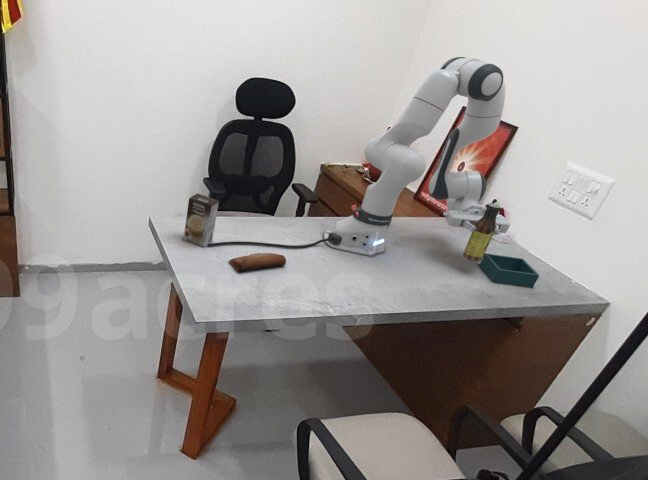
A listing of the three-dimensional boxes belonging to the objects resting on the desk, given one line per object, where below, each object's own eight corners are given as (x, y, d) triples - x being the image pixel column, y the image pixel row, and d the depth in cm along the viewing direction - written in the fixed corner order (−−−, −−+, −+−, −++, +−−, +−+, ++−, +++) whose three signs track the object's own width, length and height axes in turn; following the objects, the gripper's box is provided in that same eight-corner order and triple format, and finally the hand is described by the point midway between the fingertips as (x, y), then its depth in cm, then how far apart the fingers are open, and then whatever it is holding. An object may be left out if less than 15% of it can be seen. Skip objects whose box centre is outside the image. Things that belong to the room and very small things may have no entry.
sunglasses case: (271, 254, 181) (280, 244, 176) (279, 271, 179) (288, 261, 173) (227, 260, 174) (235, 249, 169) (234, 278, 172) (242, 268, 166)
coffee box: (182, 239, 186) (187, 197, 177) (191, 234, 191) (196, 192, 182) (204, 247, 182) (211, 205, 173) (213, 241, 187) (219, 200, 178)
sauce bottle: (483, 263, 181) (508, 210, 170) (464, 260, 181) (488, 208, 171) (477, 255, 186) (501, 203, 175) (459, 252, 187) (482, 200, 176)
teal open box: (492, 282, 181) (499, 269, 178) (478, 265, 191) (484, 253, 188) (532, 287, 180) (539, 275, 177) (516, 270, 190) (522, 258, 188)
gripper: (444, 203, 188) (458, 218, 176) (502, 210, 186) (519, 226, 175) (438, 219, 191) (450, 235, 179) (495, 226, 190) (511, 243, 178)
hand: (485, 231), depth 177 cm, fingers closed on sauce bottle, 6 cm apart
